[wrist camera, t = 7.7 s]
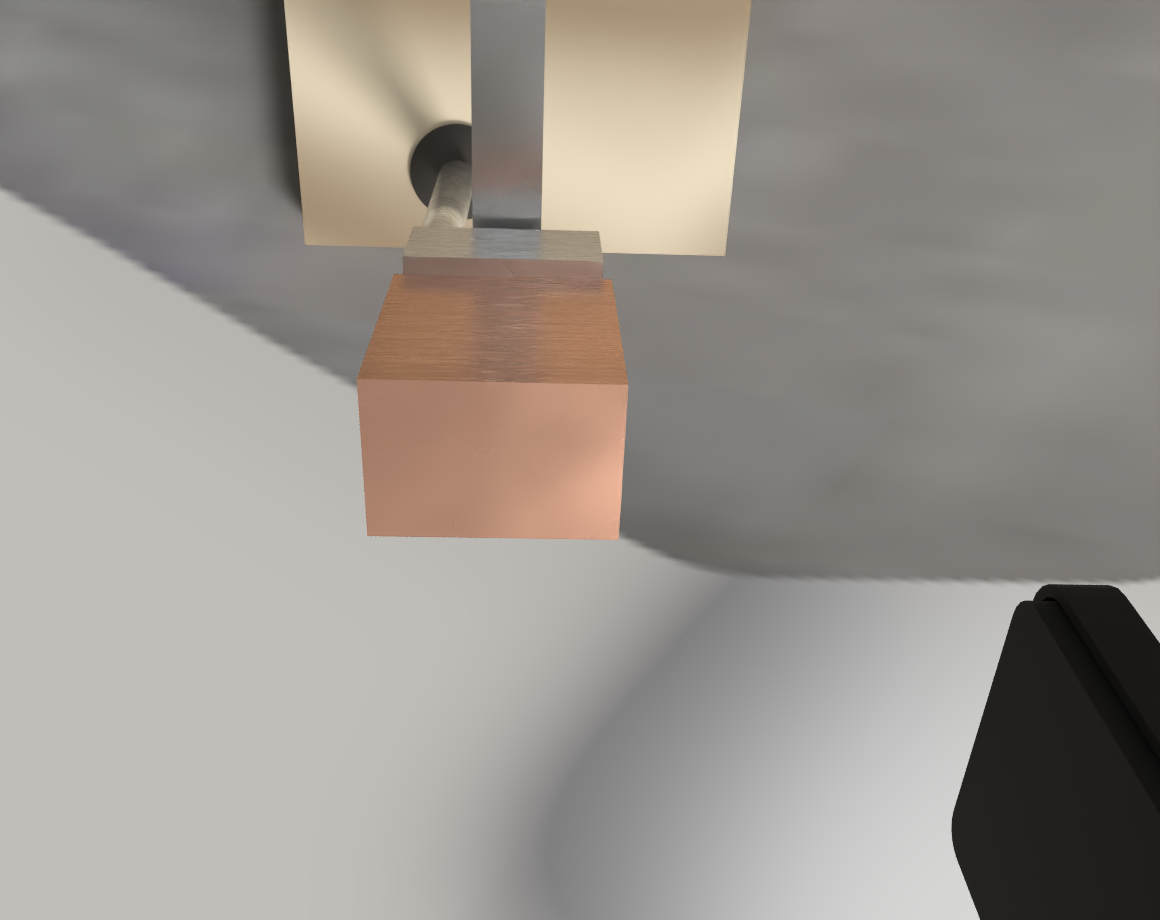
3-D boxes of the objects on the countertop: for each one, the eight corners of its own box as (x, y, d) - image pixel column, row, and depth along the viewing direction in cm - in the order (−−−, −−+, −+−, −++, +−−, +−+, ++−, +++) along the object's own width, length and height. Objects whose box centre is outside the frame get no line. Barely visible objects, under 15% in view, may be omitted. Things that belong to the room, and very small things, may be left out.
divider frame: (409, -384, 22) (330, -521, 14) (559, -377, 22) (568, -508, 14) (428, 254, 28) (383, 414, 20) (545, 257, 28) (545, 417, 20)
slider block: (437, 115, 27) (339, 357, 14) (589, 121, 27) (629, 363, 14) (439, 236, 28) (354, 554, 15) (584, 240, 28) (617, 558, 16)
